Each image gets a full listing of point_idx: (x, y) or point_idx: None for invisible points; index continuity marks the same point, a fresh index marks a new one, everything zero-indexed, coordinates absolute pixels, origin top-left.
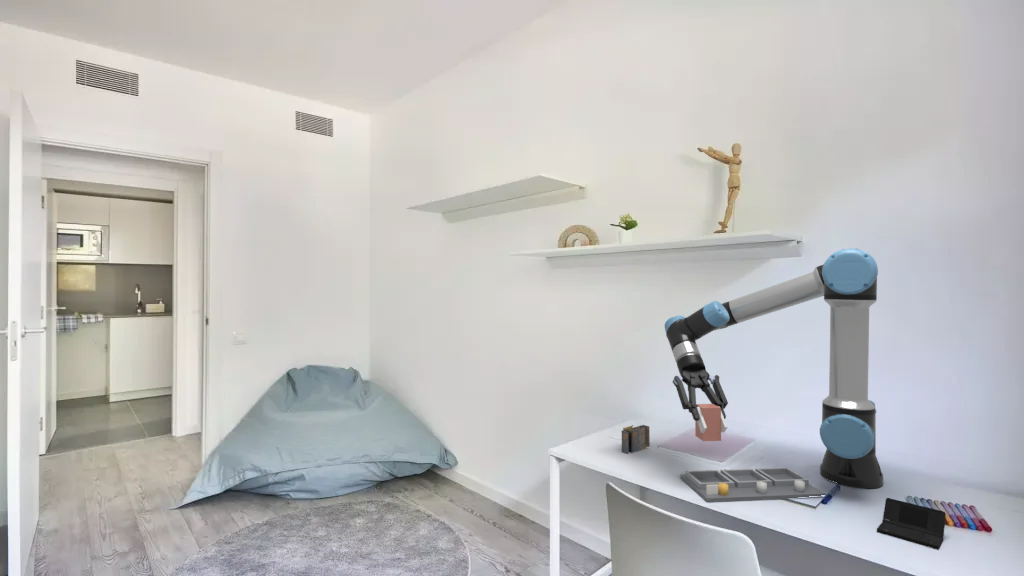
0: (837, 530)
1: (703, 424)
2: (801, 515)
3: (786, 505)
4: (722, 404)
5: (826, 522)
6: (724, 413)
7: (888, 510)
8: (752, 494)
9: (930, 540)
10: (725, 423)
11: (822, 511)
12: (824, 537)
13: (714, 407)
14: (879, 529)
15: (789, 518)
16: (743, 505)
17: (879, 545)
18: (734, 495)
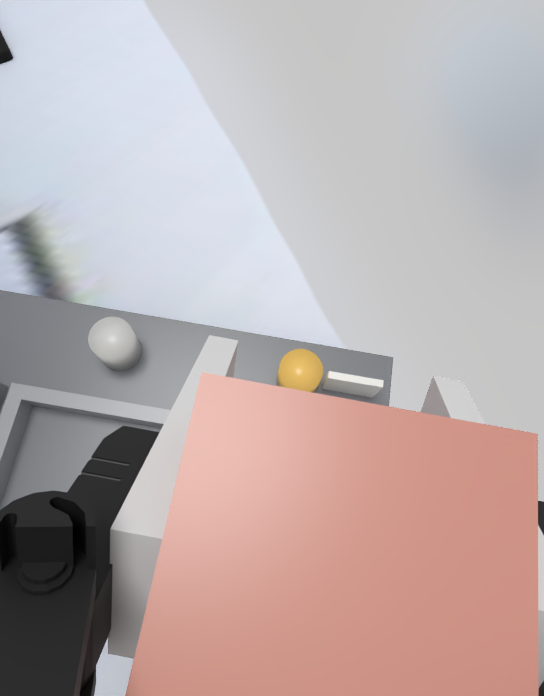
0: (114, 92)
1: (470, 400)
2: (127, 188)
3: (106, 261)
4: (50, 494)
5: (95, 133)
6: (94, 466)
7: None
8: (179, 341)
9: None
10: (206, 357)
11: (27, 191)
12: (190, 75)
13: (299, 428)
14: (5, 46)
15: (186, 182)
16: (265, 303)
17: (88, 15)
18: (262, 353)
